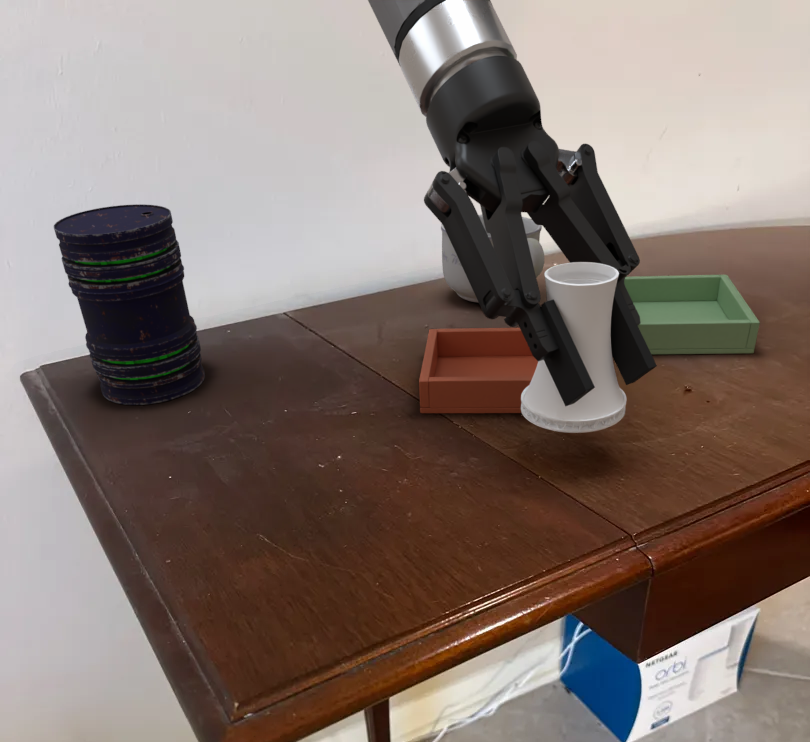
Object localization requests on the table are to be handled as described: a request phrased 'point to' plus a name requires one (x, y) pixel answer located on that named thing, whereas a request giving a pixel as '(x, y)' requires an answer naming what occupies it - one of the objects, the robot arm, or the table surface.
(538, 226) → the teacup
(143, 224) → the dark blue cylinder
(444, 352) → the terracotta tray
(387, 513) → the table surface
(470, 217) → the robot arm
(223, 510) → the table surface
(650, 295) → the green tray
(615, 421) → the vase
